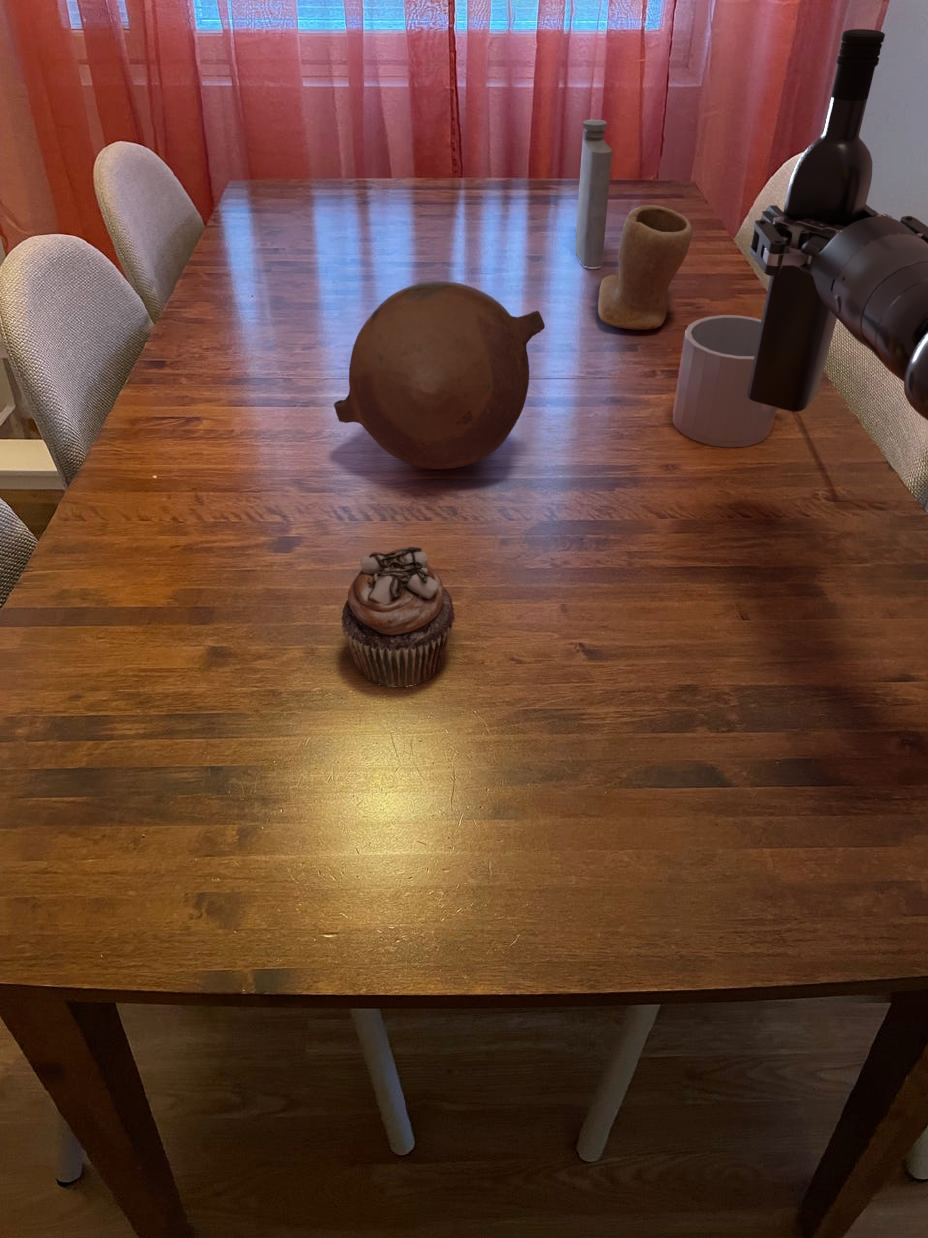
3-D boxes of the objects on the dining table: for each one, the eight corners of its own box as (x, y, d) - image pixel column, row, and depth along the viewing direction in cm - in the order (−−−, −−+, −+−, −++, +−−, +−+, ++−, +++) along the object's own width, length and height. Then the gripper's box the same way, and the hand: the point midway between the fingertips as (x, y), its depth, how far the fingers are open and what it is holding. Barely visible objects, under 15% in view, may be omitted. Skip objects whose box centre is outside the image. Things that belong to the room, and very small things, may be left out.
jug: (489, 515, 99) (525, 423, 125) (540, 333, 89) (568, 273, 114) (306, 460, 100) (378, 380, 125) (335, 273, 90) (408, 227, 115)
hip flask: (602, 269, 153) (614, 134, 140) (577, 269, 153) (587, 134, 140) (594, 236, 165) (605, 108, 152) (571, 236, 165) (579, 108, 152)
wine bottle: (763, 378, 94) (838, 23, 74) (820, 392, 91) (913, 29, 72) (742, 400, 90) (814, 33, 71) (800, 416, 88) (892, 40, 68)
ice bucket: (761, 400, 119) (779, 315, 112) (781, 448, 110) (803, 359, 103) (666, 399, 119) (679, 314, 112) (678, 446, 110) (693, 357, 103)
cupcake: (330, 638, 85) (319, 547, 78) (430, 610, 88) (427, 520, 81) (366, 708, 78) (356, 616, 72) (473, 675, 81) (473, 583, 75)
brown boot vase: (678, 339, 132) (695, 229, 123) (593, 333, 134) (603, 224, 124) (678, 297, 144) (694, 194, 134) (600, 292, 145) (609, 189, 136)
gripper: (1000, 232, 67) (906, 167, 80) (801, 237, 67) (737, 171, 79) (965, 333, 72) (881, 257, 85) (779, 339, 71) (722, 261, 84)
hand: (812, 216), depth 82 cm, fingers closed on wine bottle, 7 cm apart
